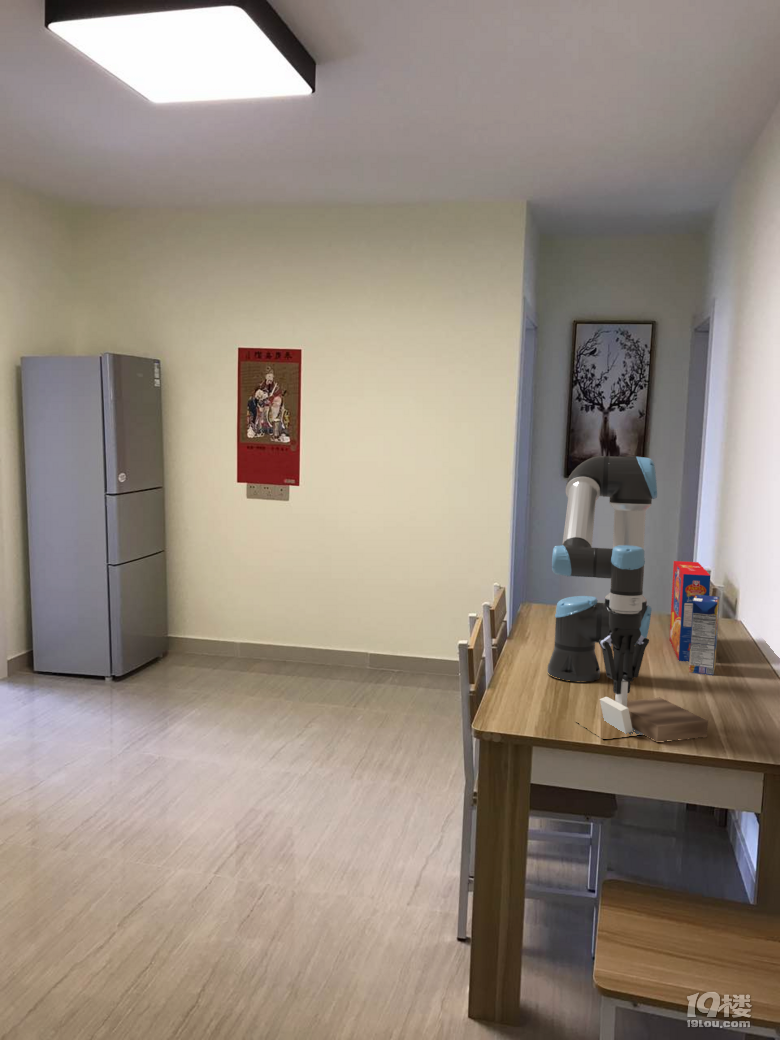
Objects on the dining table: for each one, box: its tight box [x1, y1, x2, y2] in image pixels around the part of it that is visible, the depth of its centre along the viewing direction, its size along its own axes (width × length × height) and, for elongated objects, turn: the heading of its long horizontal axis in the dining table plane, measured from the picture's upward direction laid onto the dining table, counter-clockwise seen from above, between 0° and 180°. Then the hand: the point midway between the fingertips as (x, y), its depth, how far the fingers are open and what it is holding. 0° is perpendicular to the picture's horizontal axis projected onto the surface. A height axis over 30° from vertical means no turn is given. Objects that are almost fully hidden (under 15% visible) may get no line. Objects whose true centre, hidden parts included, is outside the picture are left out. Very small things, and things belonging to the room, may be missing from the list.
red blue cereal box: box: [668, 560, 711, 663], centre depth 274 cm, size 28×8×28 cm, turn 167°
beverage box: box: [688, 595, 720, 676], centre depth 252 cm, size 7×11×22 cm, turn 156°
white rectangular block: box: [599, 696, 633, 734], centre depth 200 cm, size 9×6×2 cm
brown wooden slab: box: [627, 696, 709, 741], centre depth 202 cm, size 18×14×4 cm
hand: (620, 706), depth 201 cm, fingers closed
